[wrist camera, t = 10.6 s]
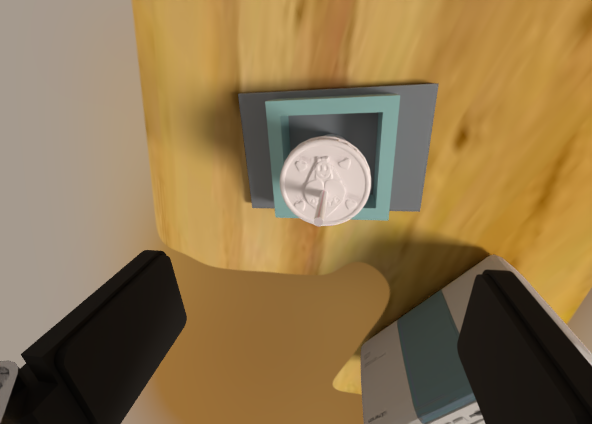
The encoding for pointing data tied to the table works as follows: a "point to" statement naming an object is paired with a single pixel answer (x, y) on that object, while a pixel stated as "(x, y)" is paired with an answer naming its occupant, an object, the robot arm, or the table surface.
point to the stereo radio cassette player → (431, 358)
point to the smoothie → (325, 180)
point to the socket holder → (353, 128)
